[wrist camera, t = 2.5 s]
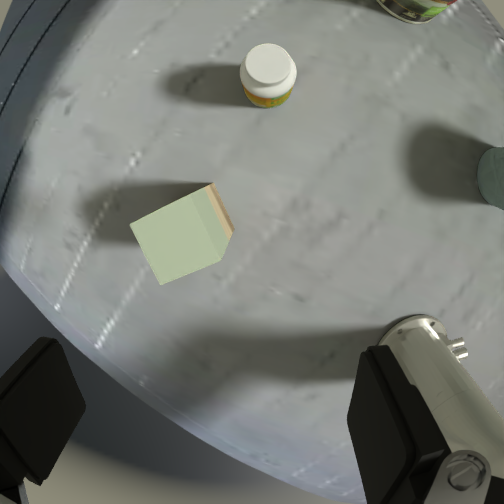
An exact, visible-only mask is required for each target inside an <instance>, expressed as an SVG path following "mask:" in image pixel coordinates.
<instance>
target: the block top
mask: <svg viewBox="0 0 504 504" xmlns="http://www.w3.org/2000/svg"><path fill="white" fill-rule="evenodd" d="M130 226H131V228H132V231H133V233H134V235H135V237H136V239H137V241H138V243H139V245H140V247H141V249H142V251H143V253H144V255H145V257H146V259H147V260H148V262H149V264H150V266H151V268H152V270H153V272H154V274H155V276H156V278H157V279H158V281H159V283H160V285H163V284H165V283H167V282H170V281H172V280H175V279H177V278H180V277H182V276H185V275H187V274H189V273H192V272H194V271H197V270H199V269H202V268H204V267H207V266H209V265H211V264H214V263H216V262H219V261H221V259H222V257H223V255H224V252H225V250H226V248H227V245H228V243H229V240H228V238H227V236H226V234H225V232H224V229H223V227H222V225H221V223H220V221H219V219H218V217H217V214H216V212H215V210H214V208H213V206H212V204H211V201H210V199H209V197H208V195H207V193H206V190H205V188H201V189H199V190H197V191H195V192H193V193H191V194H189V195H187V196H184V197H182V198H180V199H178V200H176V201H174V202H172V203H170V204H168V205H166V206H164V207H162V208H160V209H158V210H156V211H154V212H152V213H150V214H148V215H146V216H144V217H143V218H141V219H139V220H137V221H135V222H133V223H131V224H130Z"/></svg>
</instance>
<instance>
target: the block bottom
mask: <svg viewBox="0 0 504 504" xmlns="http://www.w3.org/2000/svg"><path fill="white" fill-rule="evenodd" d="M203 188H205V190H206V193H207V195H208V197H209V199H210V201H211V204H212V206H213V208H214V210H215V212H216V214H217V217H218V219H219V221H220V223H221V225H222V227H223V229H224V232H225V234H226V236H227V238H228V240H230V238H231V235H232V233H233V231H234V226H233V224H232V222H231V220H230V218H229V215H228V213H227V211H226V209H225V207H224V204H223V202H222V200H221V198H220V196H219V193H218V191H217V189H216V187H215V185H214V183H212V184H210V185H208V186H205V187H203ZM190 194H191V193H190ZM188 195H189V194H188ZM186 196H187V195H186Z"/></svg>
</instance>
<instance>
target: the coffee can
mask: <svg viewBox="0 0 504 504" xmlns="http://www.w3.org/2000/svg"><path fill="white" fill-rule="evenodd" d="M376 1H377V2H378V3H379V4H380V6H382V7H383V8H384V9H385V10H386V11H387V12H389V13H390V14H391V15H393V16H394V17H396V18H398V19H400V20H402V21H405V22H408V23H412V24H424V23H427V22H429V21H430V20H432V18H433V17H435V16H436V15H438V14H439V13H440V12H441V11H443V10H444V9H446V8H447V7H448V6H450V5H451V4H453V3H454V2H455V1H457V0H376Z"/></svg>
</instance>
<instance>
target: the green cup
mask: <svg viewBox="0 0 504 504" xmlns="http://www.w3.org/2000/svg"><path fill="white" fill-rule="evenodd" d="M477 181H478V187H479V190H480V192H481V195H482V196H483V198H484V199H485V200H486V201H487V202H488V203H489V204H491V205H493V206H495V207H498V208H500V209H502V210H504V147H498V148H491V149H489V150H487V151H486V152H485V153H484V154H483V155H482V157H481V159H480V161H479V164H478V169H477Z"/></svg>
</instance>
